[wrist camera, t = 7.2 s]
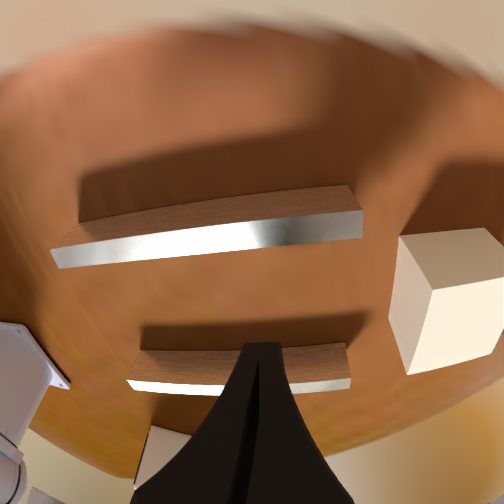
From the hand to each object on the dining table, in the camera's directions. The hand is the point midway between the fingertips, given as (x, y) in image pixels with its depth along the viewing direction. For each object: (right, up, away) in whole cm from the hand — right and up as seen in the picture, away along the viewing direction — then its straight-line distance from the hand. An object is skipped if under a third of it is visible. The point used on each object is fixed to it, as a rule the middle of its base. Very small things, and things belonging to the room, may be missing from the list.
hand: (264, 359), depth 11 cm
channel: (-2, +2, +4) cm, 5 cm away
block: (+9, +3, +2) cm, 10 cm away
